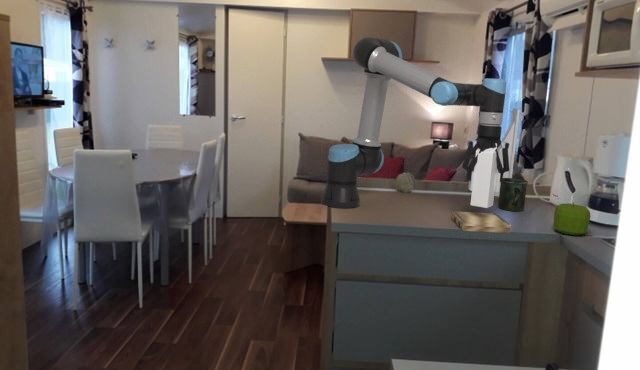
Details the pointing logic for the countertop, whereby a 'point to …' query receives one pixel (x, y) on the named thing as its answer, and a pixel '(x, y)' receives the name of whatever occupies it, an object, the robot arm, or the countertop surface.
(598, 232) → the countertop surface
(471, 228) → the dock
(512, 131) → the white bracket plate
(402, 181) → the grey-green ball
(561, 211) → the apple
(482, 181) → the milk
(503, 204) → the mug
